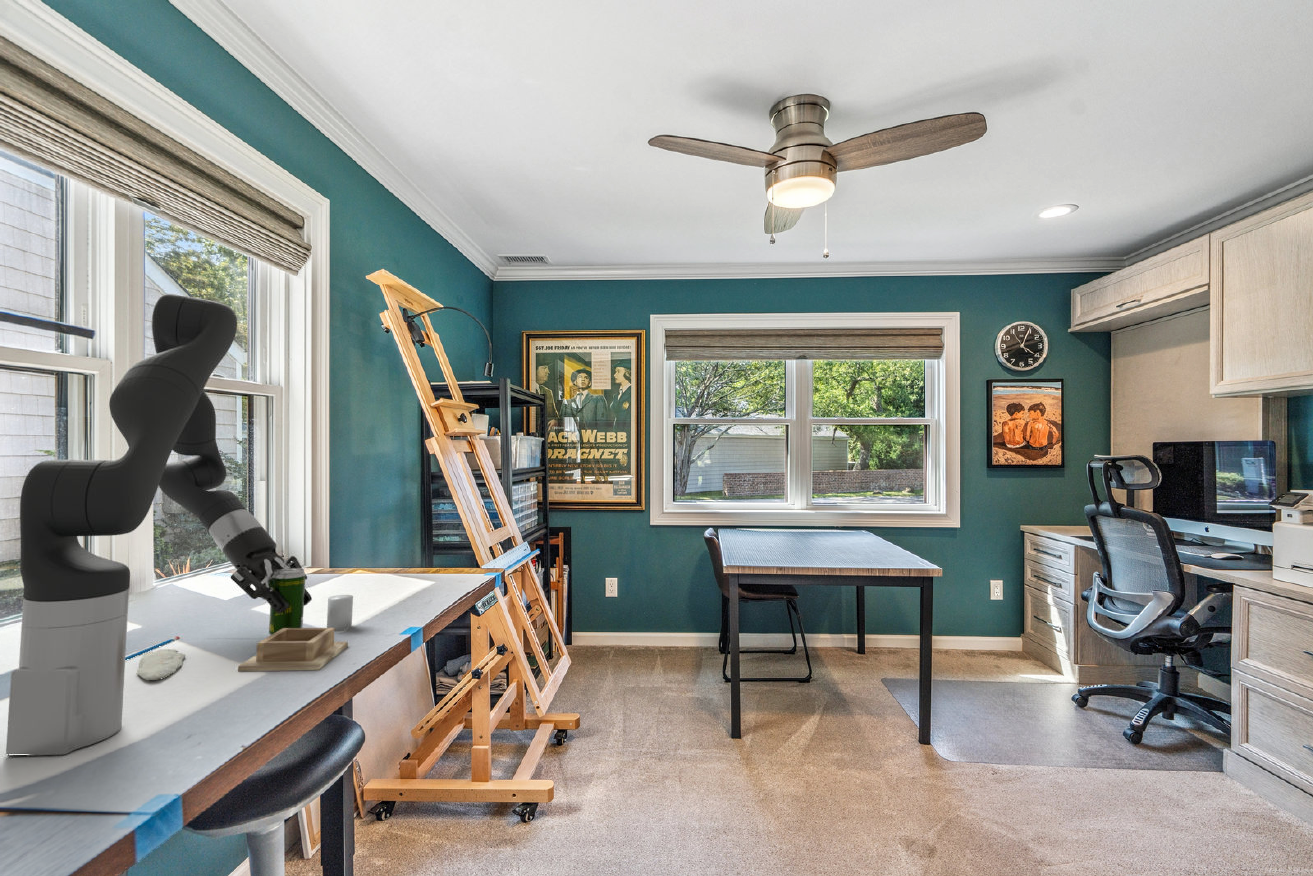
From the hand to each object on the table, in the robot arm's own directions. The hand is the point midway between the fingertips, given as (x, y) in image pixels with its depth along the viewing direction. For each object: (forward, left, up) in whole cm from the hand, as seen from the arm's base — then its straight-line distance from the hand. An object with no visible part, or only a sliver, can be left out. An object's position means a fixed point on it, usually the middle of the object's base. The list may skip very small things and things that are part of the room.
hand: (296, 606), depth 112 cm
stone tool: (-15, +13, -6) cm, 21 cm away
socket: (-11, -5, -6) cm, 14 cm away
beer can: (0, +2, -6) cm, 6 cm away
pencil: (-8, +21, -6) cm, 23 cm away
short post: (+7, -5, -6) cm, 10 cm away
